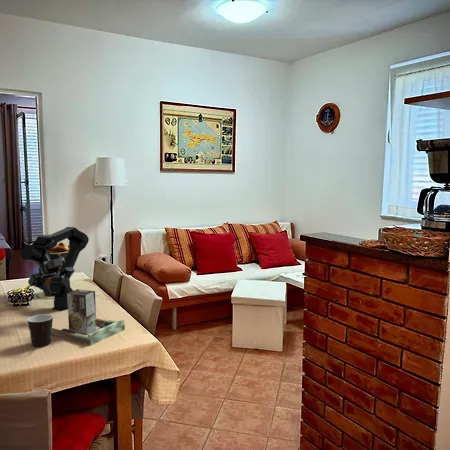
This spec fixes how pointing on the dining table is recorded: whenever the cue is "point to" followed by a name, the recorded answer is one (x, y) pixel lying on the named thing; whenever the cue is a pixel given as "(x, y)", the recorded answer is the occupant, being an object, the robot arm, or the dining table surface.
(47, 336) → the coffee mug
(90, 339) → the rectangular frame
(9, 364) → the dining table surface
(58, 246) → the decorative vase
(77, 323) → the coffee box
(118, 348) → the dining table surface
